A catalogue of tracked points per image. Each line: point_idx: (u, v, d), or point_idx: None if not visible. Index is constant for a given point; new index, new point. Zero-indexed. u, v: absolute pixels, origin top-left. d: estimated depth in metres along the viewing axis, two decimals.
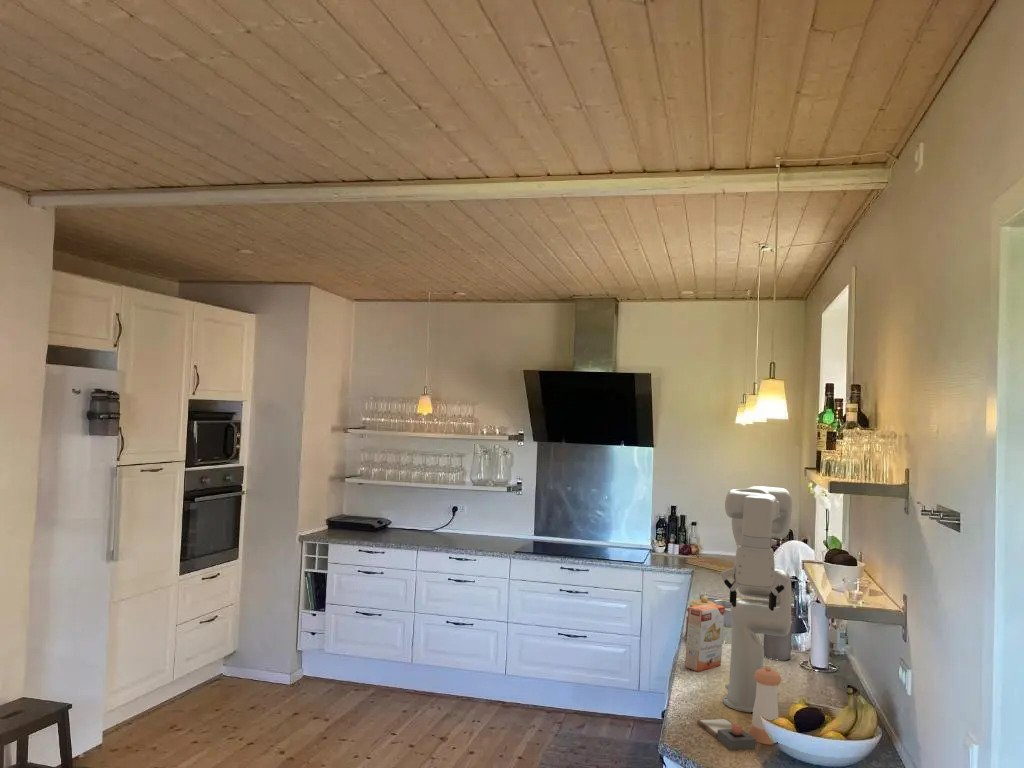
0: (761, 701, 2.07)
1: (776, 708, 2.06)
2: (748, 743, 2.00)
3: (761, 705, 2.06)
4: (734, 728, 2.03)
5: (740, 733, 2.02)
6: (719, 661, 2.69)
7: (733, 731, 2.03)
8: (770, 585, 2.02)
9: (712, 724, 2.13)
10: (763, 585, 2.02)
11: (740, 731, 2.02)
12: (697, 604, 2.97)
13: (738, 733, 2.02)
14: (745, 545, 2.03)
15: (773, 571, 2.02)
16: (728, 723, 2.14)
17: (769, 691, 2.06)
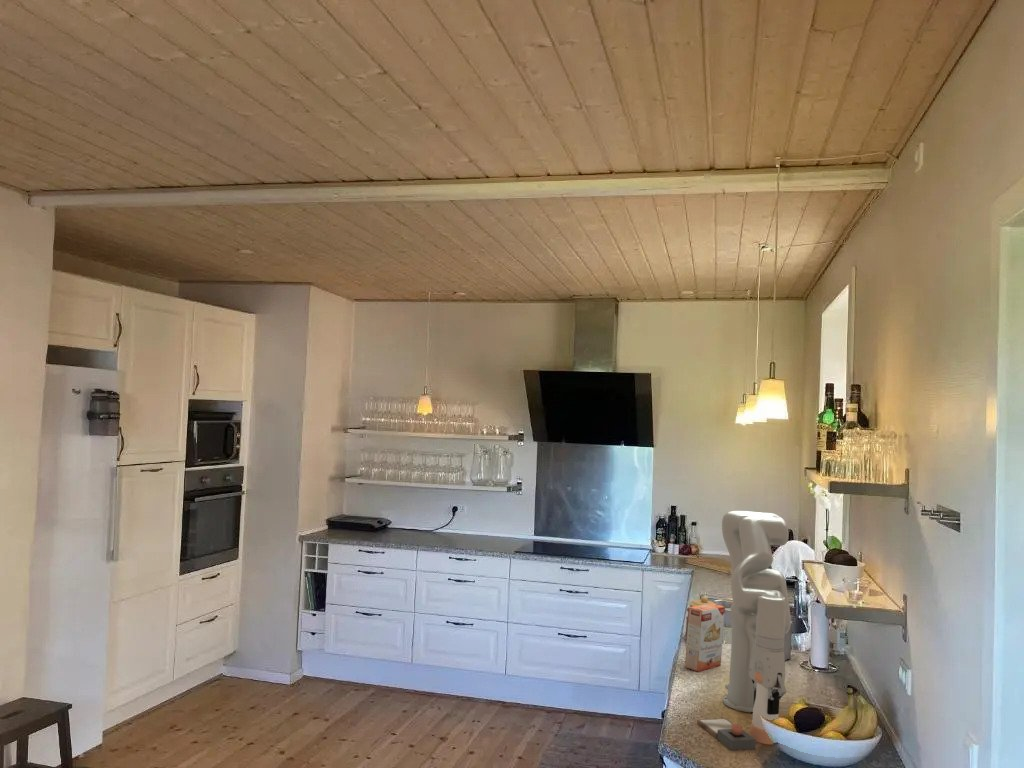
0: (761, 701, 2.07)
1: None
2: (748, 743, 2.00)
3: (761, 704, 2.06)
4: (734, 728, 2.03)
5: (740, 733, 2.02)
6: (719, 661, 2.69)
7: (733, 731, 2.03)
8: None
9: (712, 724, 2.13)
10: None
11: (740, 731, 2.02)
12: (697, 604, 2.97)
13: (738, 733, 2.02)
14: (783, 647, 2.07)
15: None
16: (728, 723, 2.14)
17: None
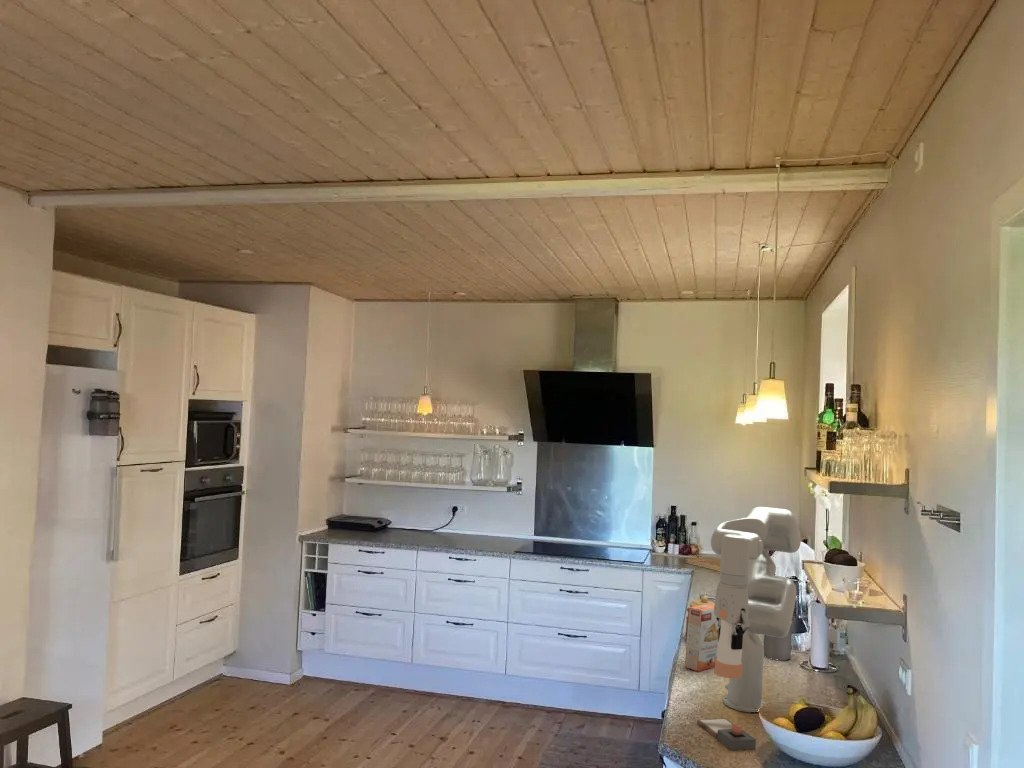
0: (725, 637, 2.11)
1: None
2: (748, 743, 2.00)
3: (725, 640, 2.11)
4: (734, 728, 2.03)
5: (740, 733, 2.02)
6: None
7: (733, 731, 2.03)
8: None
9: (712, 724, 2.13)
10: None
11: (740, 731, 2.02)
12: (697, 604, 2.97)
13: (738, 733, 2.02)
14: (746, 584, 2.11)
15: None
16: (728, 723, 2.14)
17: None
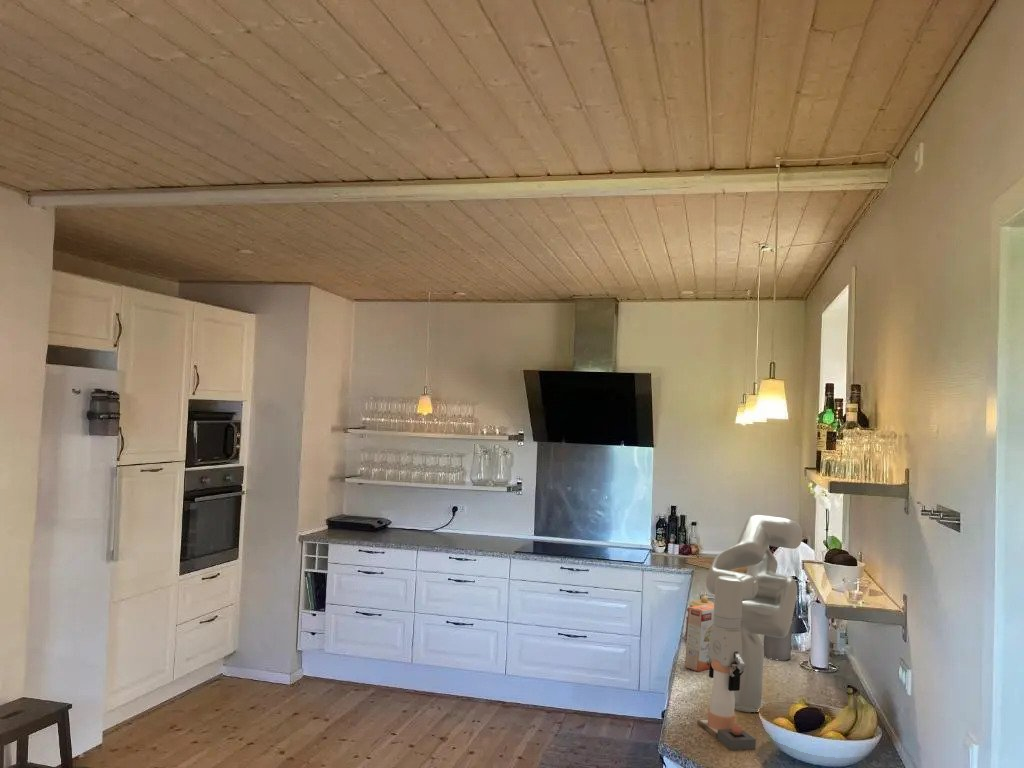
0: (718, 688, 2.11)
1: (732, 695, 2.11)
2: (748, 743, 2.00)
3: (718, 692, 2.11)
4: (734, 728, 2.03)
5: (740, 733, 2.02)
6: None
7: (733, 731, 2.03)
8: None
9: None
10: None
11: (740, 731, 2.02)
12: (697, 604, 2.97)
13: (738, 733, 2.02)
14: (740, 627, 2.11)
15: None
16: None
17: (726, 679, 2.10)
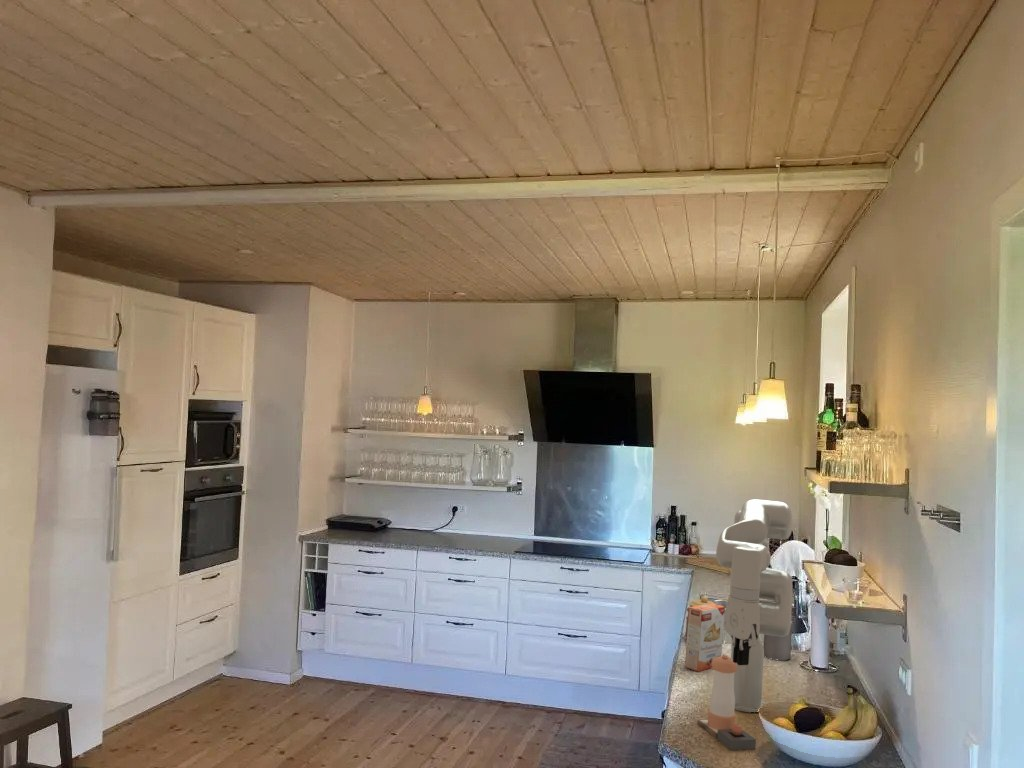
0: (718, 688, 2.11)
1: (732, 695, 2.11)
2: (748, 743, 2.00)
3: (718, 692, 2.11)
4: (734, 728, 2.03)
5: (740, 733, 2.02)
6: None
7: (733, 731, 2.03)
8: None
9: None
10: None
11: (740, 731, 2.02)
12: (697, 604, 2.97)
13: (738, 733, 2.02)
14: (758, 599, 2.03)
15: None
16: None
17: (726, 679, 2.10)
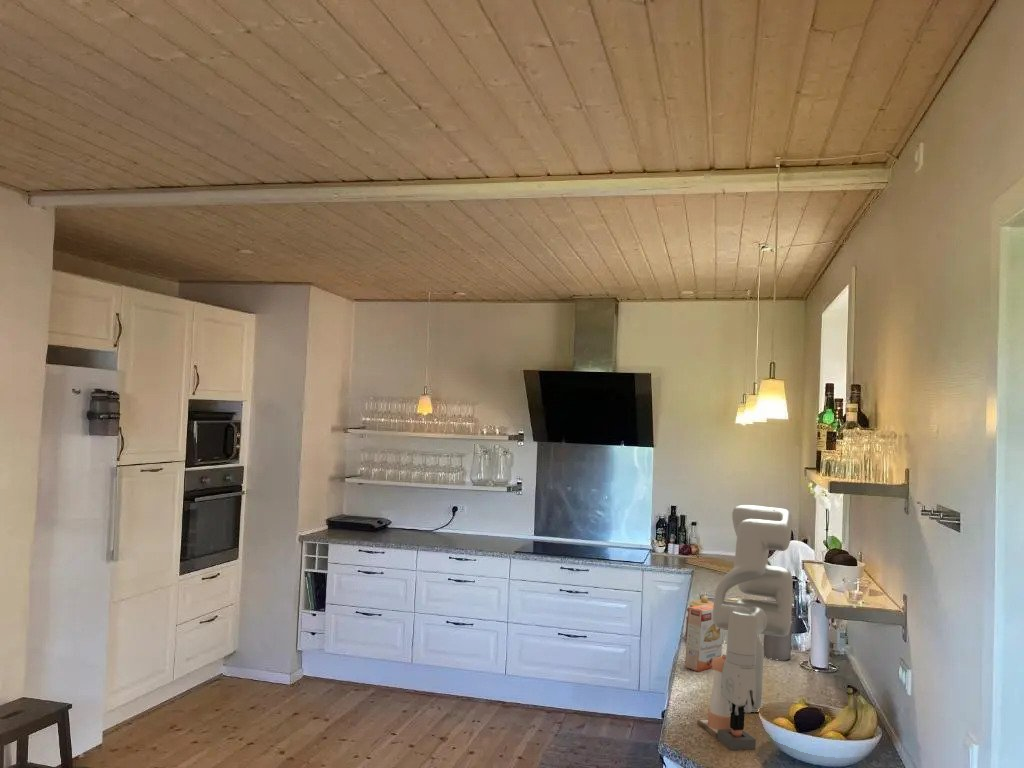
0: (718, 688, 2.11)
1: None
2: (748, 743, 2.00)
3: (718, 692, 2.11)
4: (734, 731, 2.03)
5: (740, 736, 2.02)
6: None
7: (733, 734, 2.03)
8: None
9: None
10: None
11: (740, 734, 2.02)
12: (697, 604, 2.97)
13: (738, 736, 2.02)
14: (754, 664, 2.02)
15: None
16: None
17: None
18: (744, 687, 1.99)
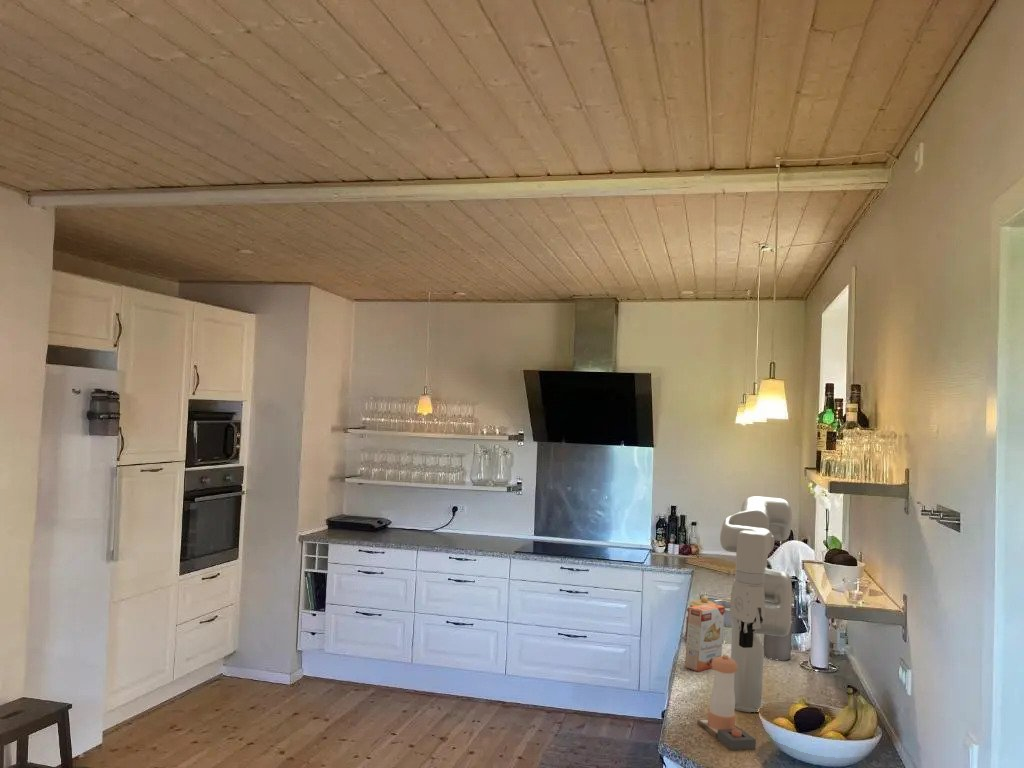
0: (718, 688, 2.11)
1: (732, 695, 2.11)
2: (748, 743, 2.00)
3: (718, 692, 2.11)
4: (734, 734, 2.03)
5: None
6: None
7: (733, 736, 2.03)
8: None
9: None
10: None
11: (740, 736, 2.02)
12: (697, 604, 2.97)
13: None
14: (763, 582, 2.04)
15: None
16: None
17: (726, 679, 2.10)
18: (753, 604, 2.01)
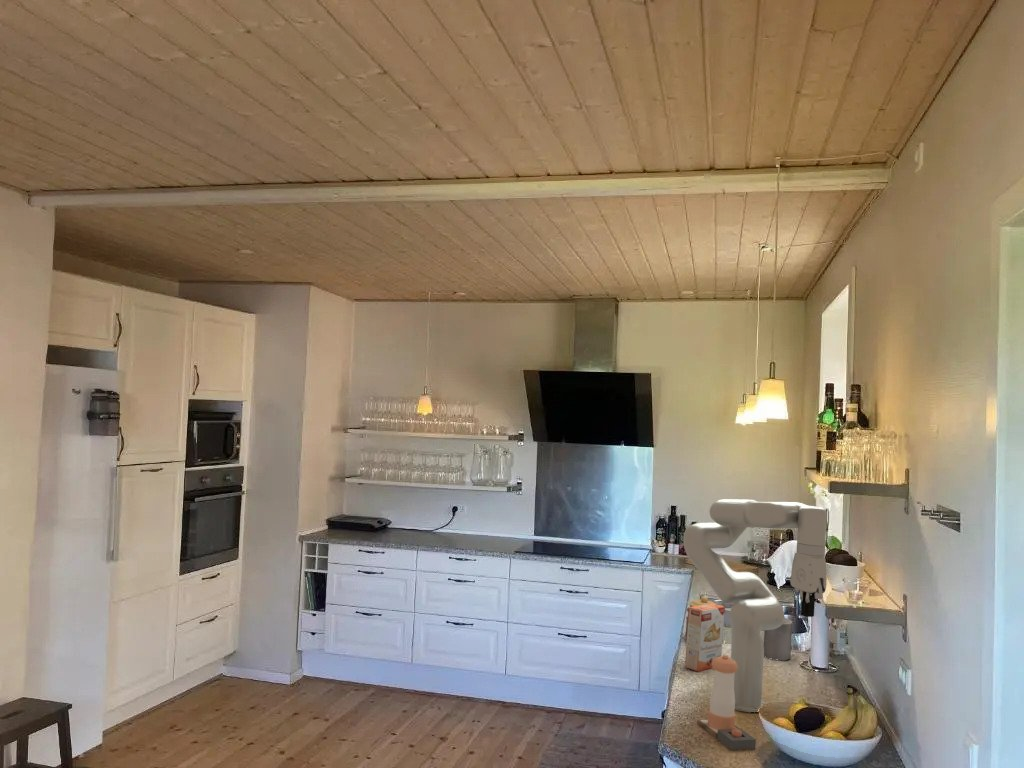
0: (718, 688, 2.11)
1: (732, 695, 2.11)
2: (748, 743, 2.00)
3: (718, 692, 2.11)
4: (734, 734, 2.03)
5: None
6: None
7: (733, 736, 2.03)
8: None
9: None
10: None
11: (740, 736, 2.02)
12: (697, 604, 2.97)
13: None
14: (824, 554, 2.15)
15: None
16: None
17: (726, 679, 2.10)
18: (815, 575, 2.12)
